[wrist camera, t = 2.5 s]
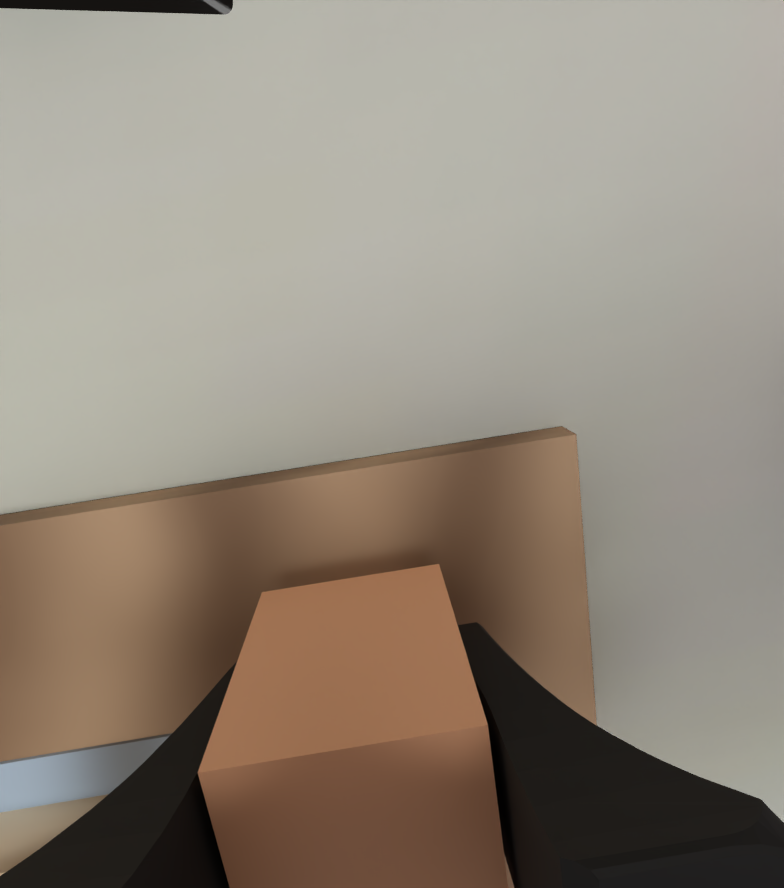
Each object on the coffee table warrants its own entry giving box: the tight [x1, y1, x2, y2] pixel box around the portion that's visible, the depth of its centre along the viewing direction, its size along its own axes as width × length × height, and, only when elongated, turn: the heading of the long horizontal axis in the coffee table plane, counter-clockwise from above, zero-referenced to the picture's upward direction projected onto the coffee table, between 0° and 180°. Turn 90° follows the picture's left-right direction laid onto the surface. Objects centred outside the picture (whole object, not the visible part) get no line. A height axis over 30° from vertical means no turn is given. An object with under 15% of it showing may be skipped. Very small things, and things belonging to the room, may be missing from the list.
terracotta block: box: [198, 564, 508, 888], centre depth 11 cm, size 4×4×5 cm
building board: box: [0, 426, 597, 888], centre depth 15 cm, size 20×16×3 cm
